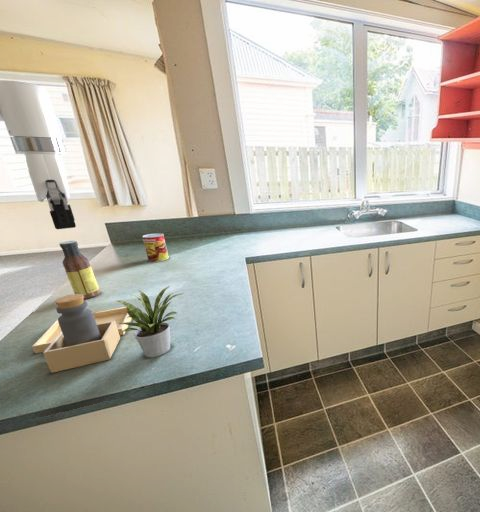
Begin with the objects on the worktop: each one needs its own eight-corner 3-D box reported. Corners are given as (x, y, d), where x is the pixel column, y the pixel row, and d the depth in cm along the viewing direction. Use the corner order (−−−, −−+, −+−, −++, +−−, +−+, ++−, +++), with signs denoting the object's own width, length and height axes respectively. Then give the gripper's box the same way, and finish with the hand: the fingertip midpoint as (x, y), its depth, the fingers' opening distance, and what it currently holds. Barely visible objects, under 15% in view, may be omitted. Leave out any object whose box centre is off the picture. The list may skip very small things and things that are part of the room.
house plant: (198, 328, 85) (186, 275, 80) (195, 355, 73) (181, 295, 68) (135, 341, 79) (119, 285, 73) (121, 373, 67) (100, 309, 62)
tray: (35, 353, 73) (32, 346, 73) (60, 325, 86) (58, 318, 85) (123, 335, 81) (121, 328, 81) (135, 311, 94) (133, 305, 93)
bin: (51, 373, 67) (42, 352, 65) (68, 348, 75) (62, 330, 74) (110, 359, 72) (103, 340, 70) (120, 338, 80) (115, 320, 78)
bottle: (66, 357, 72) (44, 301, 67) (95, 343, 77) (77, 291, 72) (81, 362, 70) (60, 305, 65) (109, 348, 75) (92, 294, 70)
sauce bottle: (101, 290, 108) (84, 238, 102) (100, 296, 103) (82, 242, 97) (76, 295, 104) (57, 241, 98) (74, 301, 99) (54, 245, 93)
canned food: (144, 261, 139) (138, 236, 136) (160, 256, 146) (155, 232, 143) (156, 262, 137) (150, 237, 133) (172, 257, 144) (167, 233, 141)
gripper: (17, 147, 67) (43, 221, 72) (8, 145, 56) (40, 233, 61) (64, 148, 72) (86, 217, 77) (65, 147, 61) (90, 228, 66)
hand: (66, 224), depth 69 cm, fingers open, 9 cm apart
